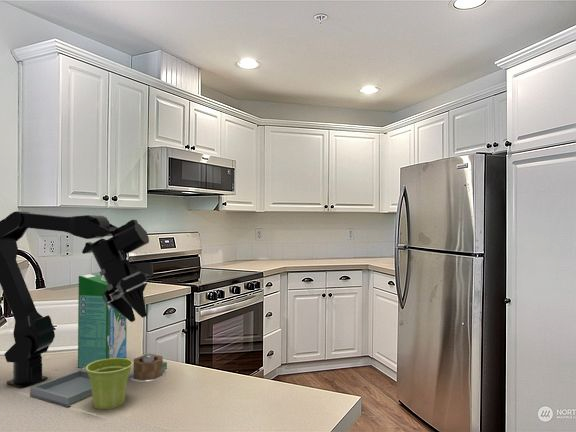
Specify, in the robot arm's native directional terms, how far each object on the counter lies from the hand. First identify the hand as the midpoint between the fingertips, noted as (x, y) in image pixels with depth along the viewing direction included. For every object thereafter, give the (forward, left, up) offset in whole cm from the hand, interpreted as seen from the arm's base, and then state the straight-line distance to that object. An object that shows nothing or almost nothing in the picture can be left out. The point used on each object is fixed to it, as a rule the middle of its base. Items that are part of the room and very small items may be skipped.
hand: (138, 319), depth 102 cm
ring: (-1, +6, -15) cm, 17 cm away
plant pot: (+3, -11, -16) cm, 20 cm away
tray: (-10, -10, -16) cm, 21 cm away
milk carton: (-20, +7, -16) cm, 27 cm away
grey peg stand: (-1, +5, -16) cm, 17 cm away
